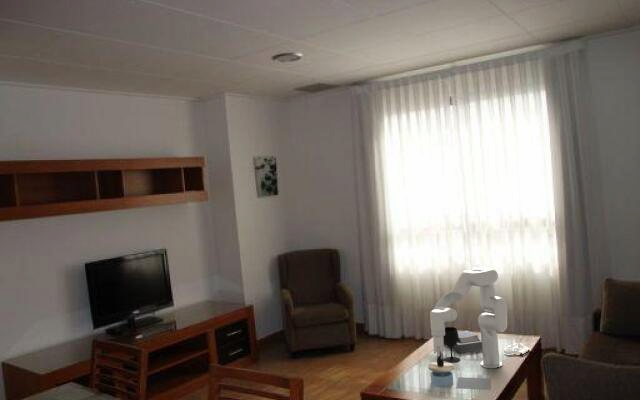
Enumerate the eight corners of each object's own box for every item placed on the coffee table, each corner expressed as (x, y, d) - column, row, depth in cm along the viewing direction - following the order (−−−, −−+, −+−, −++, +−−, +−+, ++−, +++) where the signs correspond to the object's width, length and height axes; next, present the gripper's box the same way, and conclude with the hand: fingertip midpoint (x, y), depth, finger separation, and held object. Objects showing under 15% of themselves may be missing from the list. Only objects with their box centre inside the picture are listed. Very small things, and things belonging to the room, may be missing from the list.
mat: (458, 378, 303) (458, 377, 303) (491, 379, 297) (490, 378, 297) (456, 389, 288) (455, 388, 288) (490, 390, 282) (490, 389, 282)
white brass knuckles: (520, 358, 326) (498, 354, 337) (533, 350, 338) (512, 346, 349) (519, 353, 326) (498, 349, 337) (533, 345, 338) (512, 341, 349)
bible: (451, 355, 343) (450, 340, 343) (442, 343, 370) (440, 329, 370) (487, 352, 343) (486, 337, 343) (475, 340, 370) (473, 326, 370)
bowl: (432, 379, 305) (432, 369, 304) (454, 380, 301) (453, 369, 301) (430, 387, 293) (429, 376, 293) (452, 388, 289) (451, 377, 289)
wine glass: (442, 362, 330) (440, 331, 329) (444, 357, 340) (441, 326, 339) (460, 363, 327) (457, 331, 326) (460, 357, 337) (458, 326, 336)
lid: (429, 363, 306) (429, 352, 305) (454, 363, 301) (453, 353, 301) (426, 371, 292) (425, 360, 292) (452, 372, 288) (451, 361, 288)
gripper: (433, 328, 305) (435, 359, 306) (429, 336, 290) (432, 369, 290) (446, 328, 303) (448, 359, 303) (443, 336, 287) (446, 369, 288)
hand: (440, 364), depth 297 cm, fingers closed on lid, 3 cm apart
